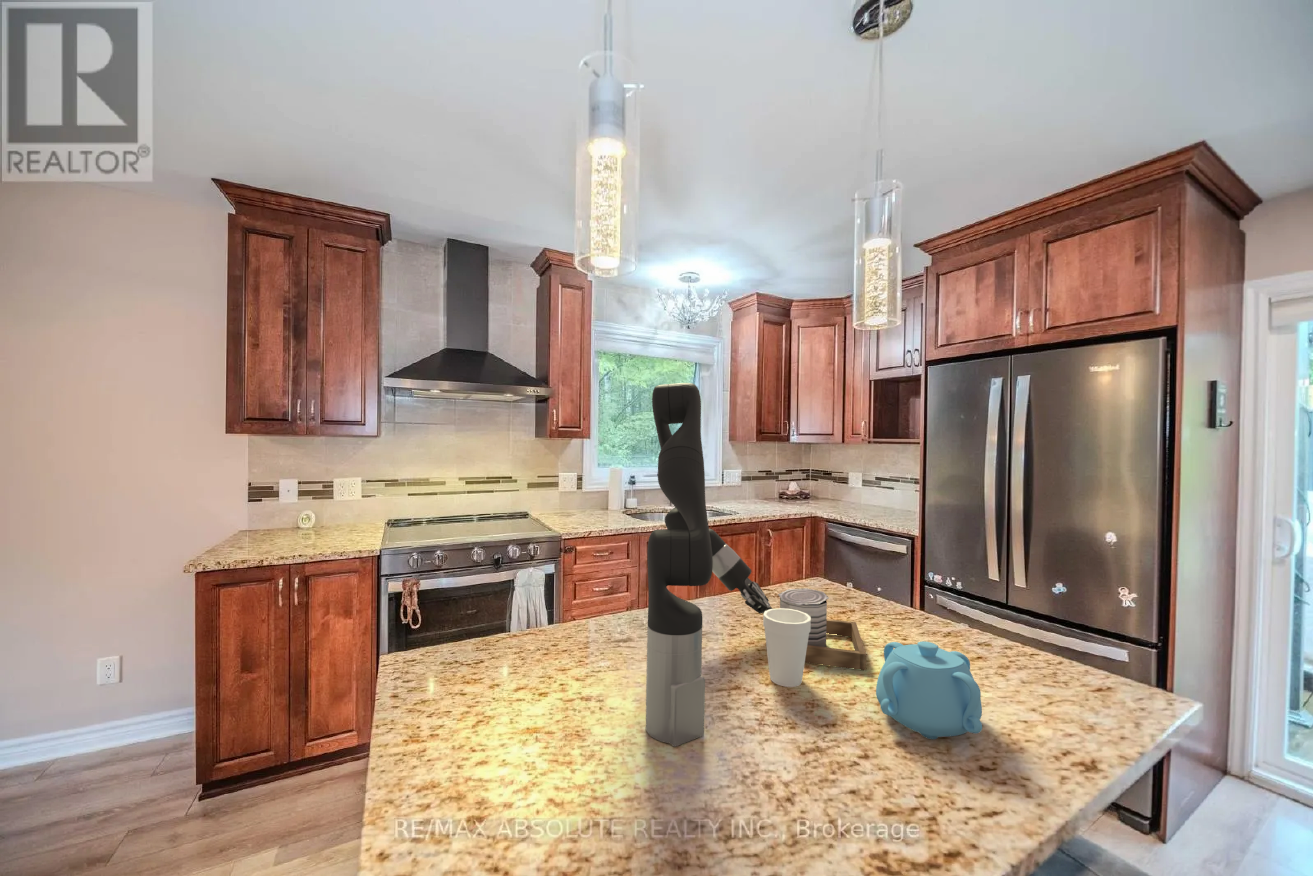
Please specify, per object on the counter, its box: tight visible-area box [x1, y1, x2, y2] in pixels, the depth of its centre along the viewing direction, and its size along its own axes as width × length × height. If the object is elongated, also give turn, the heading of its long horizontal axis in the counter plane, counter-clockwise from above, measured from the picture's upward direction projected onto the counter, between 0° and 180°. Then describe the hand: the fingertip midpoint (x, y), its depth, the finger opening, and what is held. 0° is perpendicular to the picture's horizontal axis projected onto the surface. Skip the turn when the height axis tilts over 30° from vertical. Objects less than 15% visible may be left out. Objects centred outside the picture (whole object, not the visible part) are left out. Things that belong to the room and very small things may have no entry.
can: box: [777, 587, 830, 647], centre depth 123 cm, size 11×11×12 cm
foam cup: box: [762, 607, 811, 688], centre depth 104 cm, size 10×9×13 cm
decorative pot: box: [875, 640, 983, 740], centre depth 89 cm, size 16×16×14 cm
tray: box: [805, 618, 867, 671], centre depth 121 cm, size 20×20×4 cm
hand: (777, 621), depth 124 cm, fingers closed
